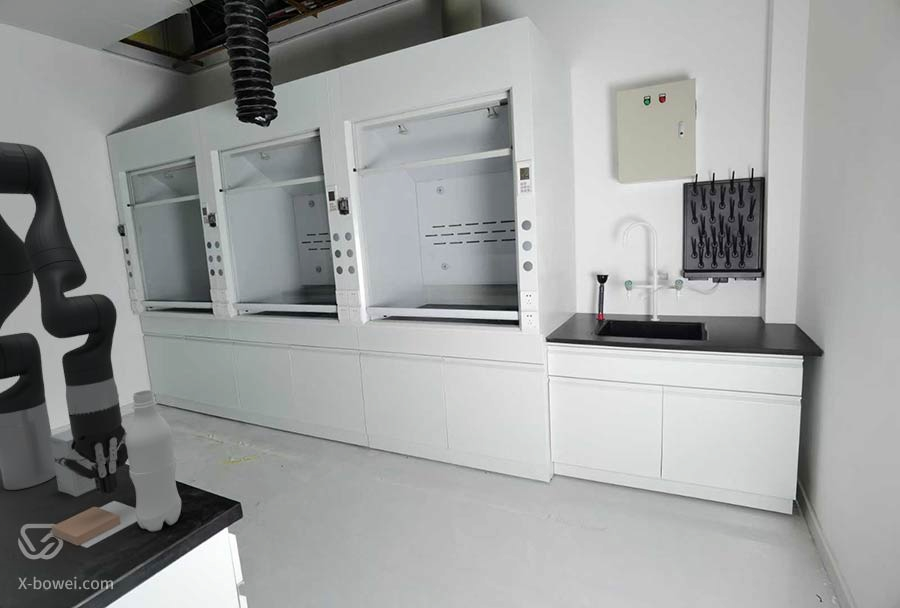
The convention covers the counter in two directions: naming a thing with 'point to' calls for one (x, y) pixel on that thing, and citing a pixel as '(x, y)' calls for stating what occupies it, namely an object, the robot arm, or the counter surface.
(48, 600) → the counter surface
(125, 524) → the mat
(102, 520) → the tile
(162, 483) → the water bottle
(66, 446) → the supplement box
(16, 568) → the counter surface
